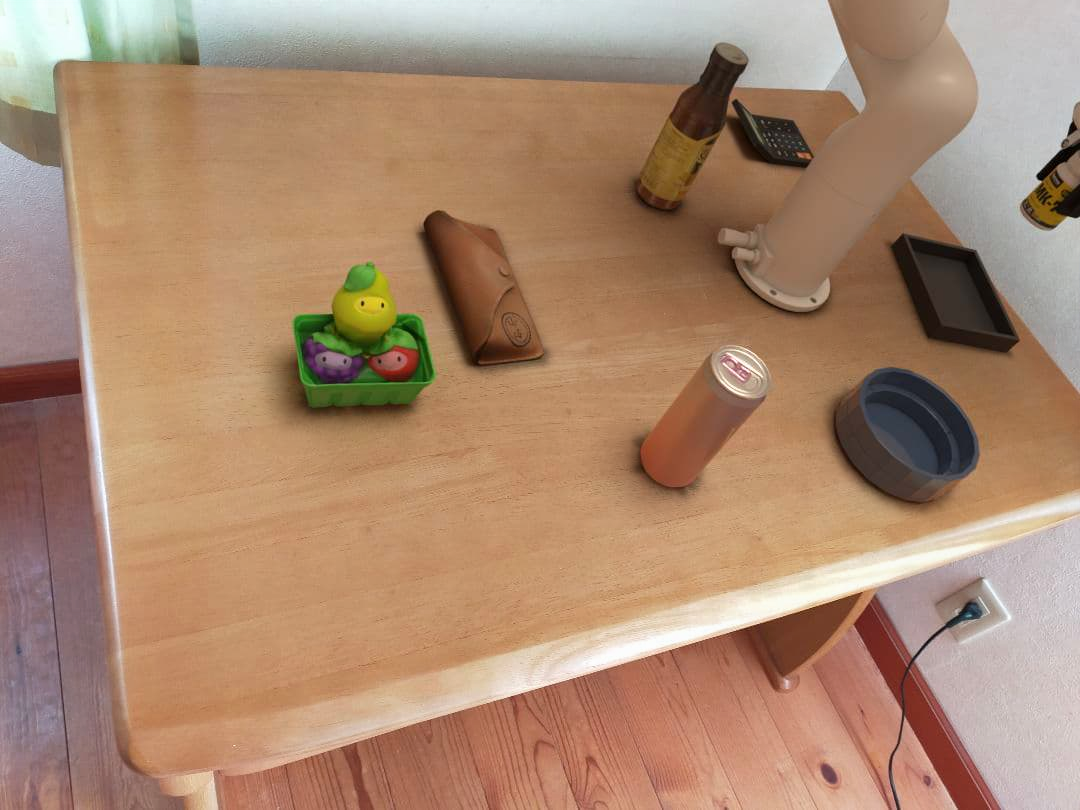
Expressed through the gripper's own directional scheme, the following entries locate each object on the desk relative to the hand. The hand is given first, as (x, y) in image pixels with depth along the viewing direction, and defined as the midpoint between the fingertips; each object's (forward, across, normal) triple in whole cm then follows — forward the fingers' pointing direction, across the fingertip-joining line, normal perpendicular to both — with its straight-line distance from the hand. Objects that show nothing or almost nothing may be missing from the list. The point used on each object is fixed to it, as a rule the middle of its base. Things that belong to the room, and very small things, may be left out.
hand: (1057, 196), depth 100 cm
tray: (+19, -2, +1) cm, 20 cm away
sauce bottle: (+19, -10, -40) cm, 45 cm away
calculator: (+19, -27, -20) cm, 39 cm away
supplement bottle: (+3, 0, 0) cm, 3 cm away
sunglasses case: (+19, +13, -63) cm, 67 cm away
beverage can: (+19, +30, -44) cm, 57 cm away
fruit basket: (+19, +26, -74) cm, 81 cm away
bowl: (+19, +24, -16) cm, 35 cm away
